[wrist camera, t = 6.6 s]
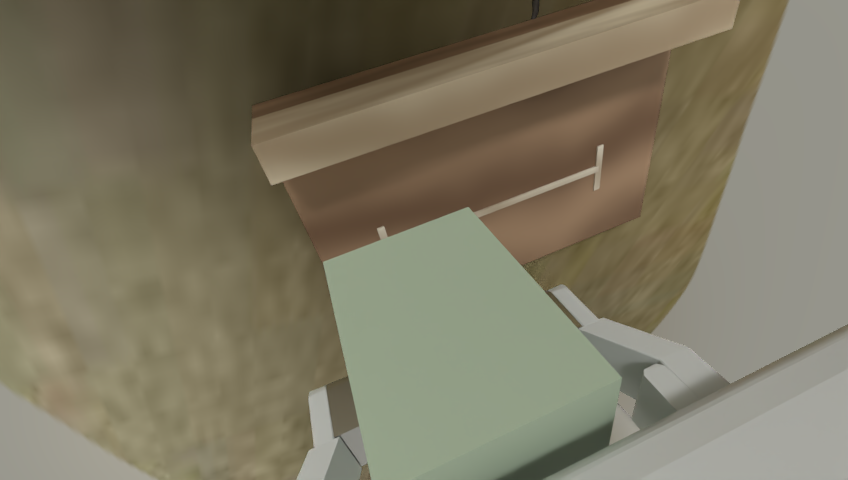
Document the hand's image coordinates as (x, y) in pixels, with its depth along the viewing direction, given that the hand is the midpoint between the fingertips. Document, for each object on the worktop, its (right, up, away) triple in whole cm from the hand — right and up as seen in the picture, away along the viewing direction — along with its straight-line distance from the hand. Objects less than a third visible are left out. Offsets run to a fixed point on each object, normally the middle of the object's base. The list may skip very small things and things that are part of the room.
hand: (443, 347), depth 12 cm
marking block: (-1, +2, +2) cm, 3 cm away
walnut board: (+3, +8, +11) cm, 14 cm away
